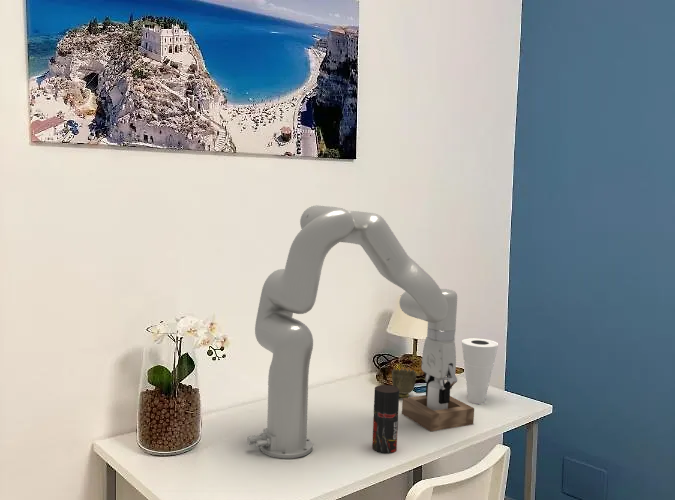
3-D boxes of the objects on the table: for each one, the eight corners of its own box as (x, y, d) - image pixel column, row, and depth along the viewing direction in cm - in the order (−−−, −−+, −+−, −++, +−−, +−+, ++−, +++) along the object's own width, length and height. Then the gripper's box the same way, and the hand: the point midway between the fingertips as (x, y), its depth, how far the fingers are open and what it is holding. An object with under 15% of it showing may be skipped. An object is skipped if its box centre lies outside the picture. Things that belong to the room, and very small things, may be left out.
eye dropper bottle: (437, 415, 180) (439, 372, 179) (424, 409, 185) (426, 366, 184) (449, 413, 183) (452, 370, 181) (436, 406, 187) (439, 365, 186)
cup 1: (416, 402, 198) (417, 375, 197) (391, 401, 198) (392, 374, 197) (413, 393, 205) (415, 368, 204) (389, 393, 205) (391, 367, 204)
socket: (430, 431, 175) (431, 414, 174) (401, 413, 187) (402, 398, 187) (473, 424, 181) (474, 408, 181) (442, 407, 194) (443, 392, 193)
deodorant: (393, 455, 159) (396, 394, 158) (369, 451, 161) (372, 390, 159) (398, 445, 165) (401, 386, 163) (375, 442, 166) (377, 383, 165)
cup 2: (467, 393, 208) (470, 336, 206) (500, 400, 202) (503, 342, 200) (452, 401, 199) (455, 342, 197) (485, 410, 193) (489, 349, 191)
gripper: (412, 328, 188) (408, 391, 189) (448, 343, 172) (444, 411, 174) (434, 327, 191) (430, 388, 193) (472, 341, 176) (467, 407, 178)
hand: (437, 398), depth 184 cm, fingers closed on eye dropper bottle, 5 cm apart
